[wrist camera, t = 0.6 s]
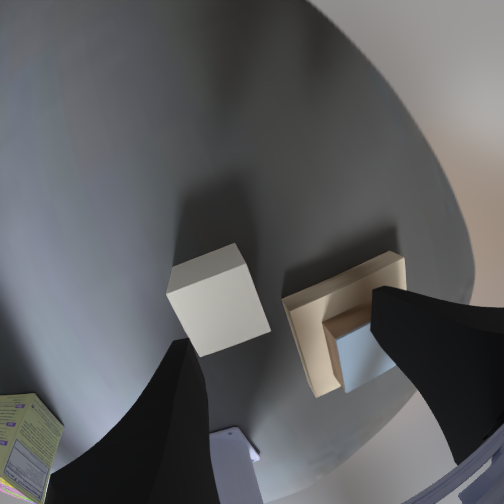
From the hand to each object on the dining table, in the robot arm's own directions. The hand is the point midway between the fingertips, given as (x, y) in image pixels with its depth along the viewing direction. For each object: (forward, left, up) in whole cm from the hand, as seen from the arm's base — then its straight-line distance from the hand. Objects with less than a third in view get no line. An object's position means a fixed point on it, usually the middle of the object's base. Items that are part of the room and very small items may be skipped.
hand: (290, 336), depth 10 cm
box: (-31, -8, -10) cm, 33 cm away
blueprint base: (+6, -9, -10) cm, 15 cm away
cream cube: (-3, -1, -10) cm, 10 cm away
